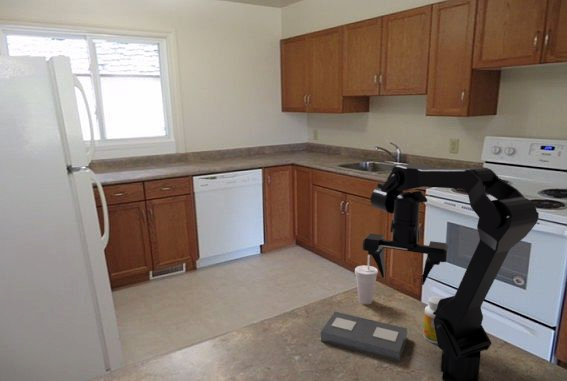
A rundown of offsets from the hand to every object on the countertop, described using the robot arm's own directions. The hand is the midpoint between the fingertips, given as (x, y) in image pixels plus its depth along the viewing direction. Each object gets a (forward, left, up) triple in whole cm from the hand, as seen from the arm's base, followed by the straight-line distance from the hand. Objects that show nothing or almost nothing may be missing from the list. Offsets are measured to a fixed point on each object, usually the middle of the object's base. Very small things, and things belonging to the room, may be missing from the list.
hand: (402, 280), depth 90 cm
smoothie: (+12, -10, -13) cm, 20 cm away
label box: (+7, +8, -13) cm, 17 cm away
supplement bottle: (-8, 0, -13) cm, 15 cm away
